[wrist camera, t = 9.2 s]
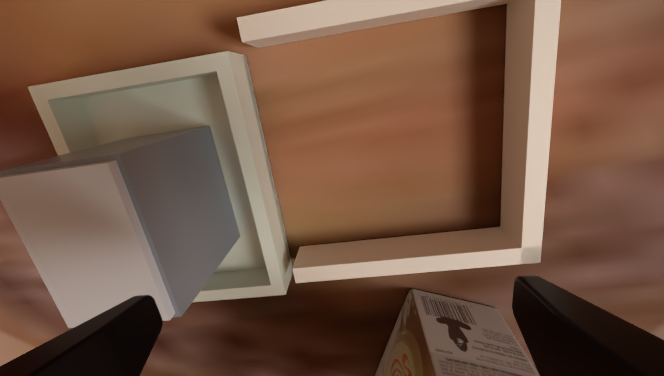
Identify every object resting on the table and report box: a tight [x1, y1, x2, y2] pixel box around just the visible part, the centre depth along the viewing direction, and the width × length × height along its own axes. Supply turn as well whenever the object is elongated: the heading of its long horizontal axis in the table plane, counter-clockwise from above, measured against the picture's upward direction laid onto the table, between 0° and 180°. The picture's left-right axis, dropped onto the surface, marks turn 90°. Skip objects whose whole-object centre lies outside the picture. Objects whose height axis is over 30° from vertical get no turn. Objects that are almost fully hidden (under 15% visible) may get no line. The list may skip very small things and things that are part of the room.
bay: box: [237, 0, 561, 283], centre depth 16 cm, size 14×14×2 cm
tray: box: [28, 51, 293, 302], centre depth 18 cm, size 10×14×2 cm
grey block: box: [0, 126, 240, 328], centre depth 15 cm, size 5×7×7 cm
